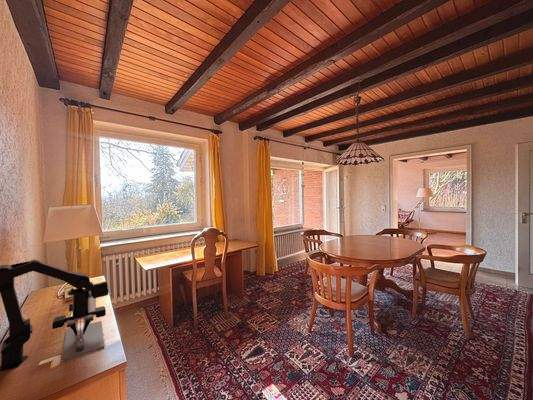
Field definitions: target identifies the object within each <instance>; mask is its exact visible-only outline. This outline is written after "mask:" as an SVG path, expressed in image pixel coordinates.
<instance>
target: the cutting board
mask: <svg viewBox="0 0 533 400" xmlns="http://www.w3.org/2000/svg"><path fill="white" fill-rule="evenodd" d="M102 323H103V322H102V320H99V321H95V322H92V323H91V322H90V323H89V325H88V327H87V329H86V331H85V334H83V339H84V349H83V350H82V351H80V352H76V341H77V336H76V335H75V333H74V331H73V330H72V329H71V328H68V329H66V330H65V331H66V332H65V337H64V343H63V351H62V359H61V362H62V363H63V362H66V361H68V360H69V361H70V360H73V359H75V358H76V359H77V358H78V357H80V356H84V355H88V354H90V353H91V354H92V353H94V352H96V350H97V351H100V350H102V348H103V349H105V348H104V347H106V345H105V337H104V330H103V324H102ZM83 328H84V324H83ZM77 330H78V326H77ZM80 339H81V325H80ZM99 349H100V350H99Z"/></svg>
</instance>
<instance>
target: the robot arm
mask: <svg viewBox="0 0 533 400" xmlns="http://www.w3.org/2000/svg"><path fill="white" fill-rule="evenodd" d="M31 272H34V273H38V274H42V275H44V276H47V277H51V278H54V279H57V280H60V281H63V282H65V283H67V284H69V285H70V286H72V287H71V288H70V290H68V291H67V296H68V297H69V296H72V303H70V304H69V305H68V312H72V316H67V317H66V315H65V314H64V315H60V316H55V317H54V318H53V319H52V325H51V326H52V329H53V330H56V329H59V328H62V327H64V325H65V323H66V327H67V328H69V329H72V330H73V331H74V333H75V335H76V336H77V327H78V324H77V321H78V320H79V319H80V320H81V319H84V322H83V325H84V328H83V334H85V331H86V329H87V327H88V325H89V324H91V322H93V321H94V317H96V318H97V319H98V318H102V317H105V316H106V315H107V314H106V311H107V310H106V306H103V305H102V306H99V307H96V308H95V311H91V312H88V311H89V291H90V297H93V299H95V298H96V299H98V298H99V299H100V298H103V297H107V296H108V295H109V293H110V292H109V287H108V285H109V284H108V281H106V280H105V281H102V282H97V283H93V282H92V281H91V280H90V277H89V275H87V274H86V273H85V272H84V273H83V272H78V271H69V270H66V269H63V268H60V267H57V266H54V265H52V264H48V263H45V262H42V261H40V260H39V259H32V260H28V261H22V262H19V263H13V264H1V265H0V297H1V301H2V304H3V307H4V311H5V315H6V317H7V321H8V322H7V323H8V325H9V328H8V330H9V331H8V336H7V337H6V338H5V339H4V340H3V341H2V343H1V348H0V356H1V357H0V363H1V364H0V371H4V370H10V369H15V368H18V367H19V366H20V365H21V364H22V363H23V362H24V361H25V360H26V359H28V357H29V355H24V345H25V344H26V343H28V341H29V340H30V339H31V335H32V334H33V332H34V331H33V328H34V327H33V325H32V324H31V318H28V319H25V318H24V316H23V313H22V309H21V306H20V302H19V299H18V295H17V291H16V287H15V278H17V277H20V276H23V275H26V274H28V273H31ZM52 329H51V330H52Z"/></svg>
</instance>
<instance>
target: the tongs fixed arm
mask: <svg viewBox="0 0 533 400" xmlns="http://www.w3.org/2000/svg"><path fill="white" fill-rule="evenodd" d="M80 326H81V319H77V327H78V330H77V341H76V352H80V351H82V350H83V349H84V339H83V338H81V339H80Z"/></svg>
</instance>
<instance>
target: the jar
mask: <svg viewBox="0 0 533 400" xmlns="http://www.w3.org/2000/svg"><path fill="white" fill-rule="evenodd" d="M95 308H97V298H95V299H93V297H90V291H89V311H88V312H91V311H95Z"/></svg>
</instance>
